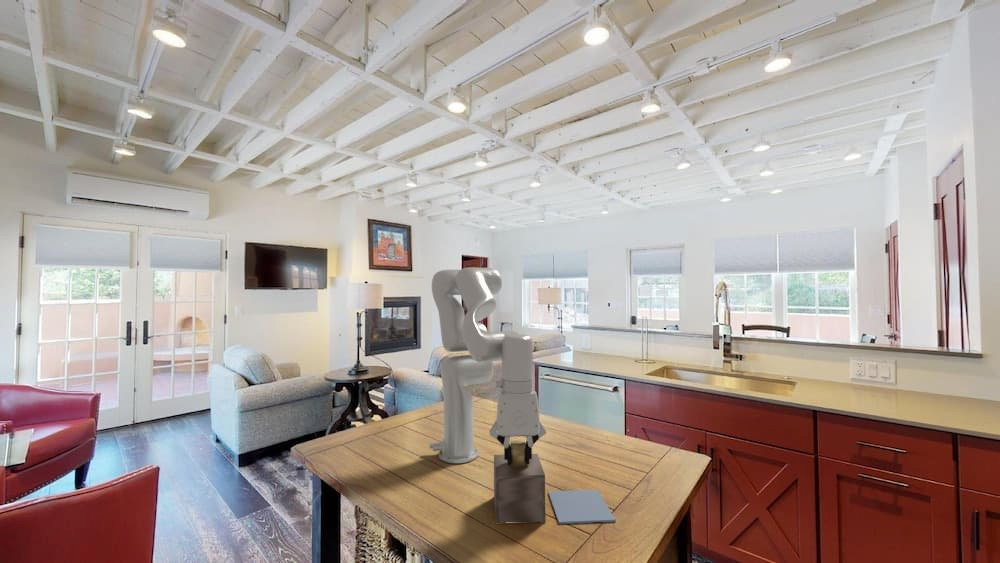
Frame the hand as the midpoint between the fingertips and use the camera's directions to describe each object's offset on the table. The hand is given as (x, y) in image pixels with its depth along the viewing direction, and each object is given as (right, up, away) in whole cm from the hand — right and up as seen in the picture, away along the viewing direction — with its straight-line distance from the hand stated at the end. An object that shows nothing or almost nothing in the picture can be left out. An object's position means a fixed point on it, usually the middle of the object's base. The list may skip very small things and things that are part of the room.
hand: (517, 461), depth 90 cm
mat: (+15, -11, 0) cm, 19 cm away
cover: (0, -11, 0) cm, 11 cm away
